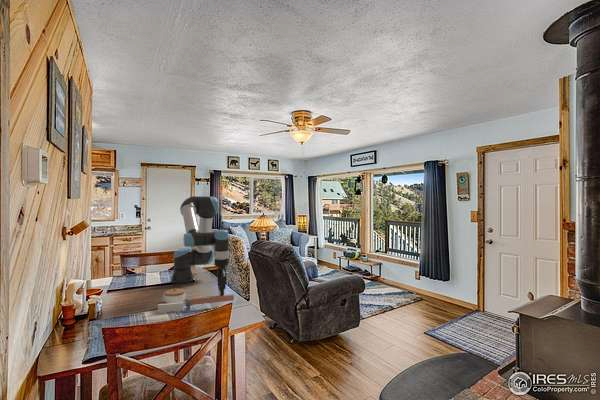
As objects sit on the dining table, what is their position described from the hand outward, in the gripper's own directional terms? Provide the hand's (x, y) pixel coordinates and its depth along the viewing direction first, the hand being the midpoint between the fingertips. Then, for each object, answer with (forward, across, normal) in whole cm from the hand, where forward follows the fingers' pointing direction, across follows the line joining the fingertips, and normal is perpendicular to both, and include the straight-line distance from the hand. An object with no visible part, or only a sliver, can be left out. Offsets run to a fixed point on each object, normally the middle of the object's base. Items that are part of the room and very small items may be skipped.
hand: (221, 300), depth 167 cm
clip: (0, +1, -6) cm, 6 cm away
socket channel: (+2, -12, -23) cm, 26 cm away
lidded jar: (+3, -12, -23) cm, 26 cm away
